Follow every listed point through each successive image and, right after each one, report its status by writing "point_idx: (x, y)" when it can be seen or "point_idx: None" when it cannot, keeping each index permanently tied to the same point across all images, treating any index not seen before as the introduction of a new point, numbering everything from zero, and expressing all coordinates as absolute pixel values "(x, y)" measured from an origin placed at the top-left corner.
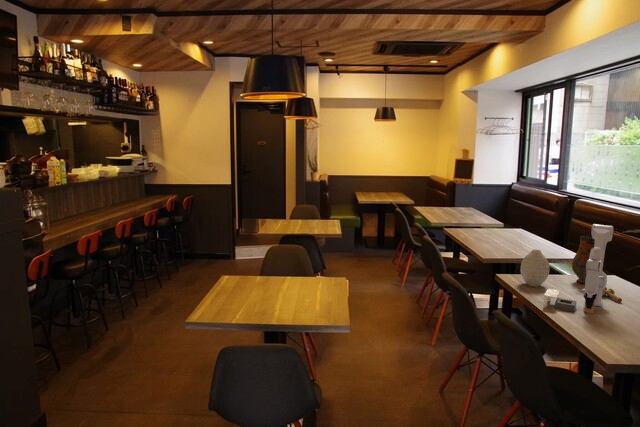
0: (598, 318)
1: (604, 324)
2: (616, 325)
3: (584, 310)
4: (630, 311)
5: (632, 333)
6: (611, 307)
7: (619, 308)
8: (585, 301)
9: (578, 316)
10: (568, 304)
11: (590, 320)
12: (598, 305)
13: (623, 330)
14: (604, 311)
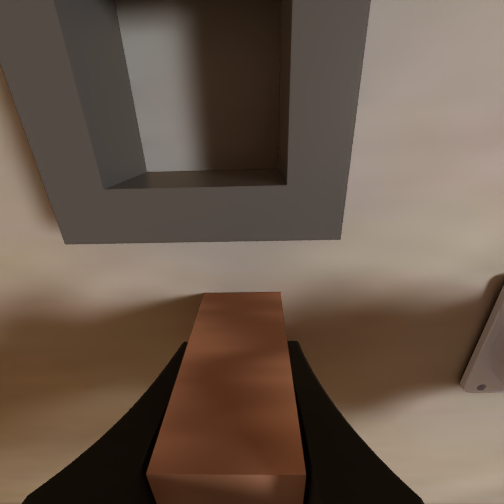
0: (119, 384)
1: (21, 415)
2: (73, 455)
3: (200, 305)
4: (425, 493)
5: (17, 498)
6: (472, 429)
7: (468, 459)
8: (173, 396)
9: (18, 267)
10: (37, 154)
11: (12, 349)
12: (467, 376)
13: (20, 476)
14: (335, 403)
